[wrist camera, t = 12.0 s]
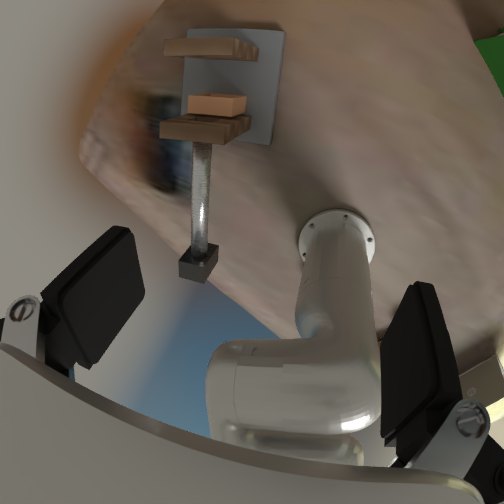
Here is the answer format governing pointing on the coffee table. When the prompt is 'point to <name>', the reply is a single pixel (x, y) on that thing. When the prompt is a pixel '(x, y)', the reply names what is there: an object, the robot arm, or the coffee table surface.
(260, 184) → the coffee table surface
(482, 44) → the hardback book
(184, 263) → the shaft
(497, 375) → the laptop
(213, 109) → the collar
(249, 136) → the base board
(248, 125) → the stand
